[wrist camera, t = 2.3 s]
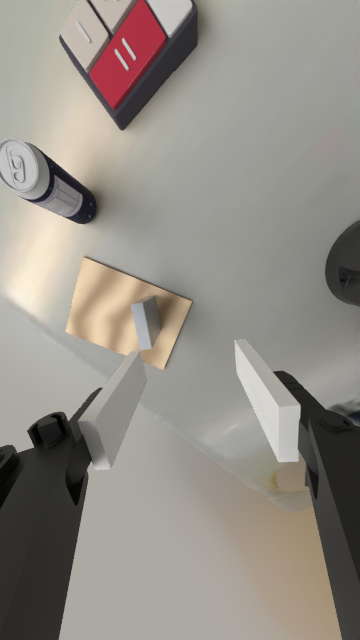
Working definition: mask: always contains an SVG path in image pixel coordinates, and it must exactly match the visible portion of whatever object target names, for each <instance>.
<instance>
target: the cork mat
mask: <svg viewBox="0 0 360 640" xmlns="http://www.w3.org/2000/svg"><path fill="white" fill-rule="evenodd" d="M153 295H155V296H156V302H157V307H158V313H159V318H160V324H161V329H162V330H161V332H160V334H159V336H158V337H157V339H156V341H155V343H154V345H153V347H152V349H143V350H140V346H139V342H138V337H137V333H136V328H135V323H134V319H133V314H132V310H131V305H130V304H132V303H134V302H136V301H138V300H140V299H142V298H144V297H146V296H153ZM191 303H192V301H191V300H188V299H186V298H183V297H181V296H178V295H176V294H173V293H171V292H169V291H166V290H164V289H161V288H159V287H156V286H154V285H151V284H149V283H147V282H144V281H142V280H139V279H137V278H134V277H132V276H129V275H127V274H125V273H122V272H120V271H117V270H115V269H112V268H110V267H108V266H105V265H103V264H100V263H98V262H95V261H93V260H90V259H88V258H86V257H82V260H81V265H80V269H79V274H78V278H77V283H76V287H75V292H74V296H73V301H72V305H71V310H70V314H69V319H68V323H67V328H66V332H67V333H69V334H72V335H74V336H77V337H80V338H82V339H85V340H87V341H90V342H93V343H95V344H98V345H100V346H103V347H106V348H108V349H111V350H113V351H116V352H118V353H121V354H124V355H126V356H128V355H129V353H130V352H131V351H139V350H140V351H141V356H142V361H143V362H144V363H147V364H150V365H152V366H155V367H157V368H160V369H162V370H163V369H164V367H165V364H166V362H167V360H168V357H169V355H170V352H171V350H172V348H173V345H174V343H175V341H176V338H177V336H178V334H179V331H180V329H181V327H182V324H183V322H184V319H185V317H186V315H187V312H188V310H189V308H190V305H191Z"/></svg>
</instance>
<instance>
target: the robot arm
mask: <svg viewBox="0 0 360 640" xmlns="http://www.w3.org/2000/svg"><path fill="white" fill-rule="evenodd" d="M325 274H326V281H327V284H328V287H329V289H330V290H331V292H332V293H333V294H334V295H335V296H336V297H337V298H338V299H339V300H341V301H343V302H345V303H347V304H351V305H356V306H360V220H359V221H357V222H356V223H354V224H353V225H351V226H350V227H349V228H348V229H346V230H345V231H344V232H343V233H342V234H341V236H340V237H339V238H338V239H337V241H336V242H335V244H334V245H333V247H332V249H331V251H330V253H329V255H328V258H327V262H326V270H325ZM234 341H235V356H236V371H237V374H238V377H239V379H240V381H241V383H242V385H243V387H244V389H245V391H246V394H247V396H248V398H249V400H250V402H251V404H252V406H253V408H254V411H255V413H256V415H257V417H258V419H259V421H260V423H261V426H262V428H263V430H264V432H265V434H266V436H267V438H268V440H269V443H270V445H271V447H272V449H273V451H274V453H275V455H276V457H277V460H278V462H295V461H298V455H299V452H300V453H301V455H302V457H303V458H304V460H305V461H306V472H305V486H309V488H310V493H311V498H312V502H313V507H314V511H315V516H316V520H317V525H318V530H319V535H320V539H321V543H322V548H323V553H324V558H325V562H326V566H327V571H328V576H329V581H330V585H331V590H332V594H333V599H334V604H335V608H336V613H337V618H338V622H339V627H340V631H341V636H342V640H360V427H359V426H355V425H354V424H353V423H352V422H351V421H350V420H348V419H347V418H346V417H344V416H342V415H340V414H338V413H336V412H333V411H329V410H326V409H325V408H324V407H323V406H322V405H321V404H320V403H319V402H318V401H317V400H316V399H315V398H314V397H313V396H312V395H311V394H310V393H309V392H308V391H307V390H306V389H304V387H303V386H302V385H301V384H300V383H298V381H297V380H296V379H295V378H294V377H293V376H292V375H290V374H288V373H286V372H284V371H275V372H272V371H271V369H270V368H269V367H268V366H267V365H266V363H265V362H264V361H263V360H262V359H261V358H260V356H259V355H258V354H257V353H256V352H255V350H254V349H253V348H252V347H251V346H250V344H249V343H248V342H247V341H246V340H245V339H240V340H234ZM146 382H147V379H146V374H145V370H144V365H143V361H142V356H141V351H140V350H139V351H131V352H130V353H129V355H128V356H127V357H126V358H125V360H124V361H123V362H122V364H121V365H120V366H119V368H118V369H117V370H116V372H115V373H114V374H113V375H112V377H111V378H110V379H109V381H108V382H107V383H106V385H105V386H104V387H103V388H99V389H97V390H96V391H95V392H93V393H92V394H91V395H90V396H89V397H88V398H87V400H86V402H84V403H83V404H82V406H81V408H79V409H78V411H77V412H76V413H75V414H74V415H73V417H72V418H71V419H70V420H69V421H68V420H67V417H66V415H65V413H64V412H55V413H52V414H49V415H47V416H45V417H43V418H41V419H39V420H38V421H37V422H36V423H34V424H33V425H32V426H31V427H30V428H29V429H28V431H27V432H28V434H29V436H30V438H31V440H32V443H33V445H34V448H31V449H28V450H25V451H22V452H19V453H17V451H16V449H15V447H14V446H13V445H6V446H3V447H0V640H58V639H59V634H60V629H61V624H62V618H63V613H64V607H65V602H66V597H67V591H68V586H69V581H70V575H71V570H72V564H73V559H74V554H75V548H76V543H77V537H78V532H79V526H80V521H81V515H82V511H83V505H84V500H85V495H86V489H87V484H88V472H87V468H88V466H89V464H90V462H91V461H92V463H93V466H94V469H95V470H105V469H111V468H112V465H113V463H114V461H115V458H116V455H117V453H118V451H119V448H120V446H121V443H122V441H123V438H124V436H125V433H126V431H127V428H128V426H129V424H130V421H131V419H132V416H133V414H134V411H135V409H136V406H137V404H138V401H139V399H140V396H141V394H142V392H143V389H144V387H145V384H146Z"/></svg>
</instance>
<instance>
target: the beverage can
mask: <svg viewBox="0 0 360 640" xmlns="http://www.w3.org/2000/svg"><path fill="white" fill-rule="evenodd" d="M0 179H1V180H2V181H3V183H4V184H5V185H6V186H8V187H9V188H10V189H12V190H13V191H14V192H15V193H16V194H17V195H18V196H19V197H21V198H23V199H25V200H27V201H29V202H32V203H34V204H36V205H38V206H41V207H43V208H45V209H47V210H49V211H52V212H54V213H56V214H58V215H61V216H63V217H65V218H67V219H69V220H72V221H74V222H76V223H79V224H86V223H89V222H90V221H91V220H92V219H93V218H94V216H95V214H96V209H97V206H96V201H95V198H94V196H93V194H92V193H91V192H90V191H89V190H88V189H87V188H85V187H84V186H83V185H82V184H81V183H79V182H78V181H77V180H76V179H75V178H73V177H72V176H71V175H70V174H69V173H67V172H66V171H65V170H64V169H62V168H61V167H60V166H59V165H58V164H56V163H55V162H54V161H53V160H52V159H50V158H49V157H48V156H47V155H45V154H44V153H43V152H42V151H41V150H39V149H38V148H37V147H36V146H34V145H32V144H30V143H27V142H23V141H22V140H20V139H17V138H6V139H4V140H2V141H1V142H0Z"/></svg>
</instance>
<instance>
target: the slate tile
mask: <svg viewBox="0 0 360 640" xmlns="http://www.w3.org/2000/svg"><path fill="white" fill-rule="evenodd" d="M130 305H131V310H132V314H133V319H134V323H135V328H136V333H137V337H138V342H139V346H140V350H143V349H152V347H153V345H154V343H155V341H156V339H157V337H158V336H159V334H160V332H161V330H162V329H161V324H160V318H159V313H158V307H157V302H156V296H155V295H153V296H146V297H144V298H142V299H140V300H138V301H136V302H134V303H132V304H130Z"/></svg>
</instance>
